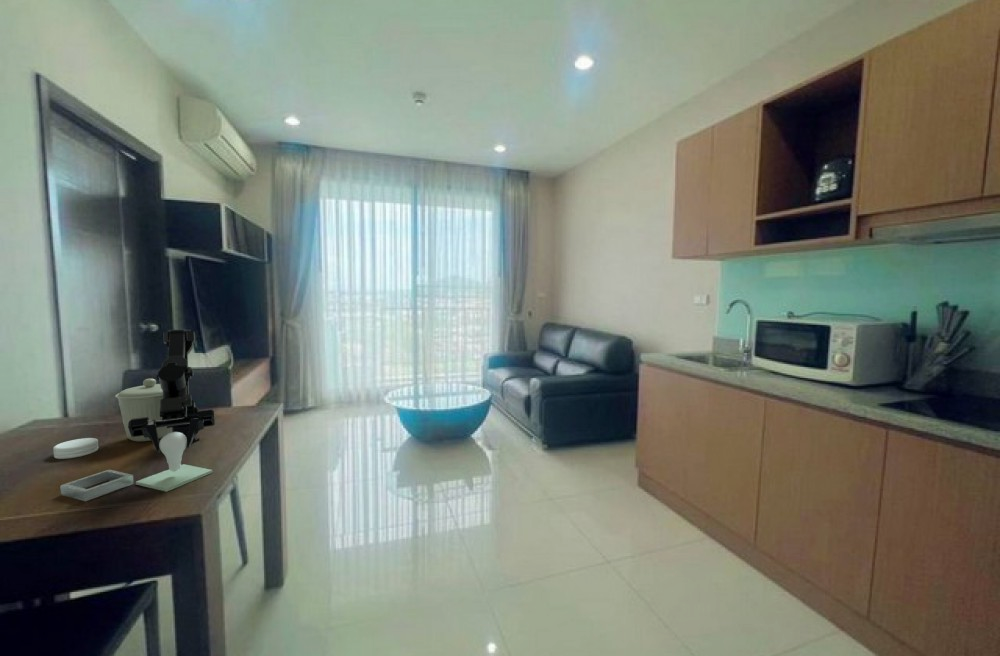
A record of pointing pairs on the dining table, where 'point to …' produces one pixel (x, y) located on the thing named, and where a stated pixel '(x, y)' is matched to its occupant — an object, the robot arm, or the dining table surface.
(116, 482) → the grey square frame
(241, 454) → the dining table surface
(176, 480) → the green mat
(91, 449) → the white round disc
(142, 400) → the canister
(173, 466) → the lightbulb
